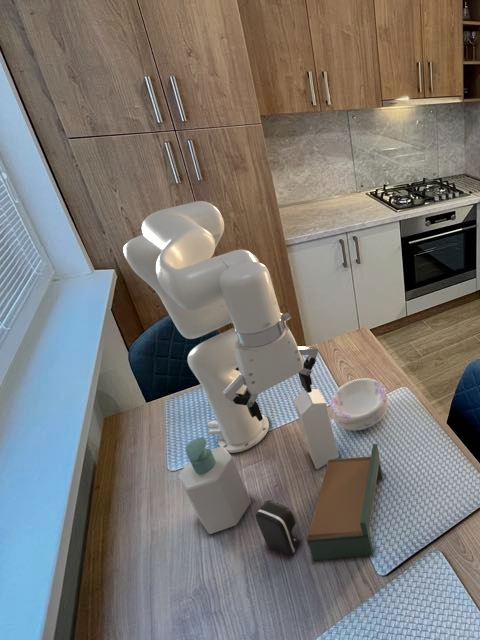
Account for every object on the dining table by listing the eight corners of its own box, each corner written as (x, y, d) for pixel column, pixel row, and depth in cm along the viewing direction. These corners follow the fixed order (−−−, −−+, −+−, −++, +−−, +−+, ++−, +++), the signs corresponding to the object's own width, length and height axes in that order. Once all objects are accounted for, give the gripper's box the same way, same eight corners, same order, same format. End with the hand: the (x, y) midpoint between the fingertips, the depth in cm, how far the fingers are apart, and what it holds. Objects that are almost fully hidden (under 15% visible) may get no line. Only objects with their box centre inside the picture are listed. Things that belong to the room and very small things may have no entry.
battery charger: (304, 539, 86) (293, 505, 81) (292, 557, 83) (279, 524, 78) (278, 528, 89) (266, 494, 84) (265, 546, 85) (251, 512, 80)
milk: (316, 470, 101) (297, 405, 92) (308, 453, 106) (289, 390, 96) (340, 456, 104) (323, 393, 95) (331, 441, 109) (315, 378, 99)
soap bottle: (196, 540, 87) (160, 472, 77) (204, 501, 95) (171, 435, 85) (249, 521, 90) (220, 453, 81) (252, 485, 98) (226, 420, 88)
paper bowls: (400, 414, 117) (397, 393, 113) (355, 448, 106) (351, 427, 103) (368, 389, 126) (364, 369, 122) (324, 419, 116) (319, 398, 112)
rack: (313, 560, 83) (302, 527, 78) (333, 479, 99) (325, 447, 94) (372, 555, 83) (365, 522, 78) (382, 475, 99) (377, 443, 95)
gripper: (298, 303, 79) (316, 371, 87) (200, 344, 69) (230, 417, 76) (316, 317, 75) (333, 388, 82) (214, 363, 64) (243, 440, 71)
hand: (283, 402), depth 79 cm, fingers open, 9 cm apart
